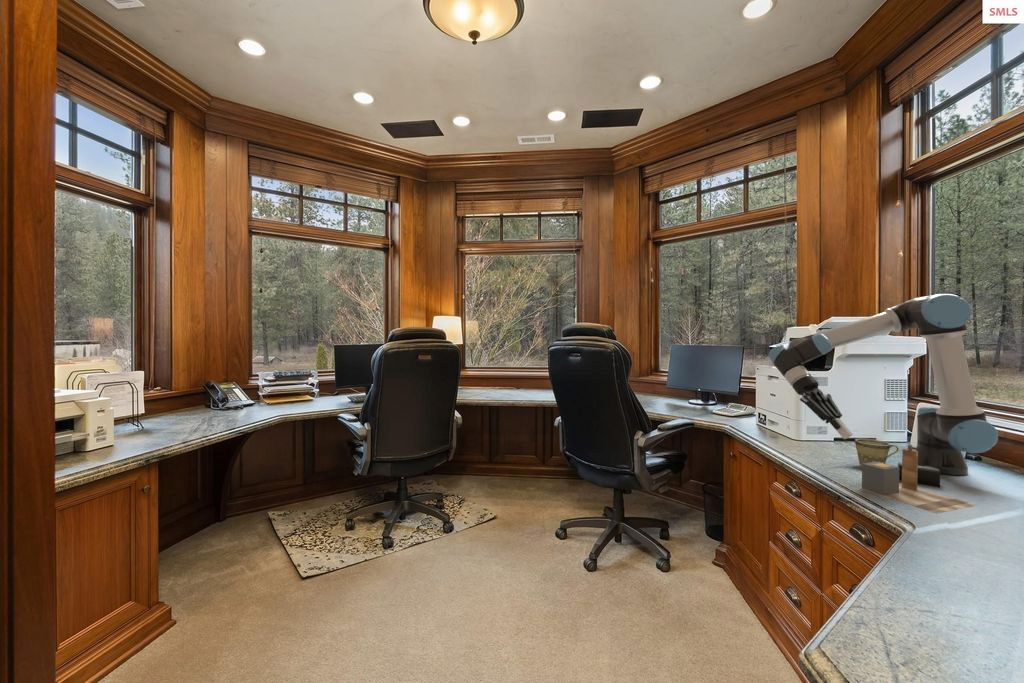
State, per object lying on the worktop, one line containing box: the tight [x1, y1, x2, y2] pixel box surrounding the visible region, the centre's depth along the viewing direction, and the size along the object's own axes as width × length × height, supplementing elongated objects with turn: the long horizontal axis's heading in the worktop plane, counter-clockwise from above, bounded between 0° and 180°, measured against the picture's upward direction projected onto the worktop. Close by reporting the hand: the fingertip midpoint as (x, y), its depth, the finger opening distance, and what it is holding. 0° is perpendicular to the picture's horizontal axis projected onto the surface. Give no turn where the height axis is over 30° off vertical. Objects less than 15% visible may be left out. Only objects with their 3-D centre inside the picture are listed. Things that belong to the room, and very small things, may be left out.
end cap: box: [897, 462, 941, 488], centre depth 140 cm, size 10×7×7 cm
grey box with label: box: [861, 462, 900, 497], centre depth 132 cm, size 7×6×8 cm
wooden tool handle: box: [901, 444, 918, 490], centre depth 134 cm, size 4×4×14 cm
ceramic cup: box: [854, 438, 899, 467], centre depth 157 cm, size 13×10×10 cm
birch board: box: [861, 482, 977, 514], centre depth 127 cm, size 18×19×1 cm
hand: (848, 436), depth 140 cm, fingers closed
